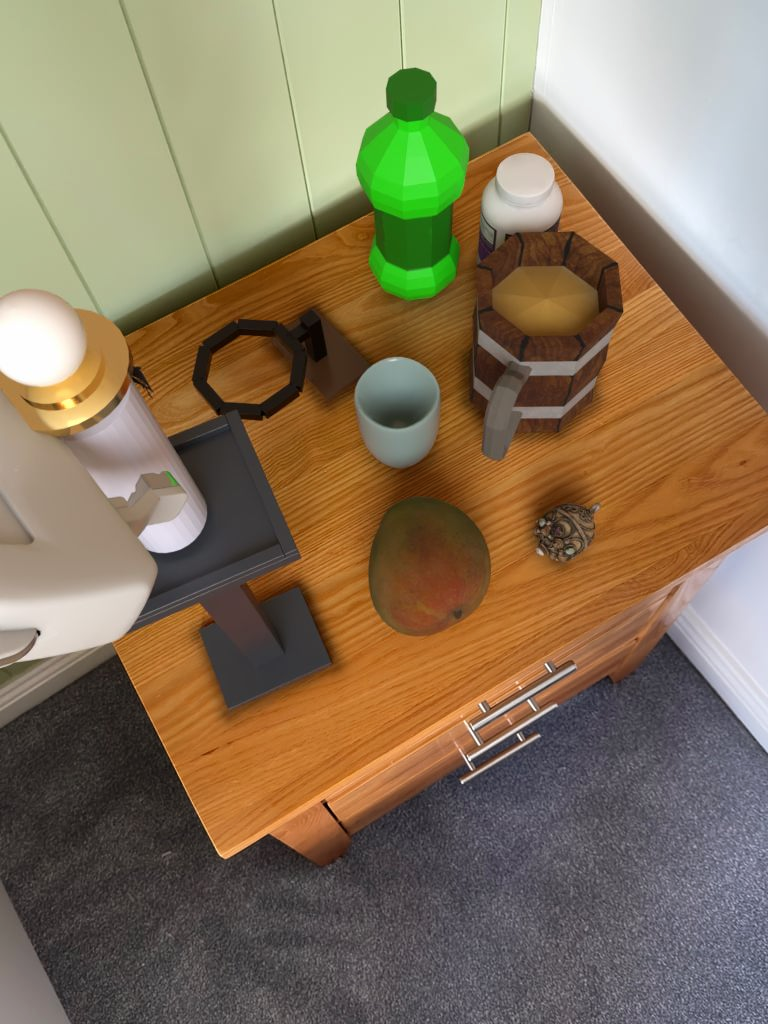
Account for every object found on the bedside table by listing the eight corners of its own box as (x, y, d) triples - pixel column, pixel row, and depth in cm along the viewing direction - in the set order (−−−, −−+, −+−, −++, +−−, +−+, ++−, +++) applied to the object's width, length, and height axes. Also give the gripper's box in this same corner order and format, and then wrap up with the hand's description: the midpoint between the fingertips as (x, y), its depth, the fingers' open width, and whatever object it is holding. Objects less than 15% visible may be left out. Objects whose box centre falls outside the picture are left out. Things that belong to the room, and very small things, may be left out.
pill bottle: (561, 263, 92) (584, 161, 79) (526, 314, 90) (544, 219, 77) (497, 234, 94) (509, 130, 81) (462, 283, 92) (468, 185, 79)
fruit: (402, 666, 75) (398, 638, 66) (338, 553, 80) (327, 513, 71) (511, 605, 77) (523, 570, 68) (443, 498, 82) (445, 452, 73)
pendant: (517, 543, 80) (522, 523, 75) (575, 496, 81) (584, 473, 77) (553, 581, 78) (561, 563, 73) (612, 532, 80) (623, 512, 75)
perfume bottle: (219, 564, 47) (86, 370, 29) (118, 571, 47) (-79, 383, 29) (222, 472, 49) (99, 238, 31) (125, 479, 49) (-53, 250, 31)
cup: (346, 446, 85) (336, 396, 75) (398, 397, 87) (394, 341, 77) (402, 493, 82) (399, 446, 73) (454, 441, 84) (458, 389, 75)
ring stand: (249, 465, 84) (234, 430, 77) (190, 395, 88) (170, 356, 81) (375, 374, 88) (370, 332, 81) (313, 310, 91) (303, 266, 84)
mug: (491, 310, 90) (503, 210, 76) (612, 349, 88) (646, 252, 74) (421, 460, 84) (420, 380, 70) (550, 507, 81) (575, 434, 67)
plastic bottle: (433, 229, 95) (436, 26, 72) (477, 297, 91) (494, 105, 68) (354, 262, 94) (330, 66, 71) (394, 332, 90) (384, 148, 67)
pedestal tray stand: (223, 726, 74) (93, 637, 45) (187, 627, 78) (46, 485, 49) (347, 670, 76) (297, 549, 47) (306, 575, 79) (236, 408, 50)
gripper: (-64, 625, 22) (282, 537, 34) (-331, 191, 29) (31, 237, 40) (-114, 754, 26) (218, 635, 37) (-344, 336, 32) (-5, 341, 43)
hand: (118, 424), depth 39 cm, fingers open, 8 cm apart
